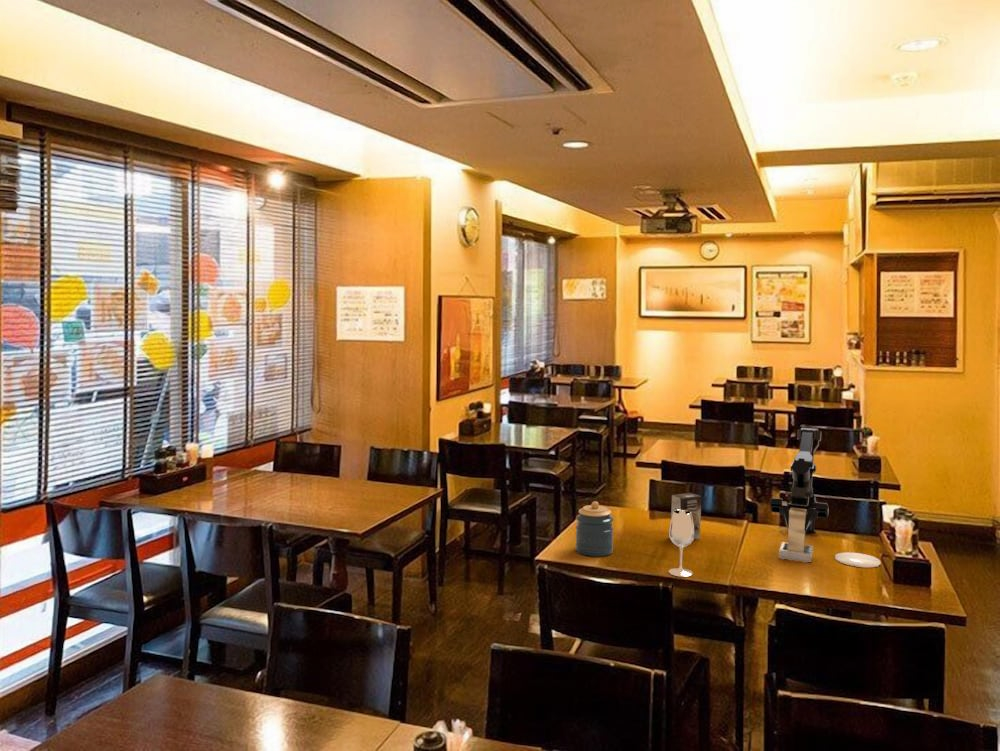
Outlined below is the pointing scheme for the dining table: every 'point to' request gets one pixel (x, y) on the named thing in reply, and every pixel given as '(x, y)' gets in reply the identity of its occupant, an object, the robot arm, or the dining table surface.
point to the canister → (594, 530)
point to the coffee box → (689, 508)
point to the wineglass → (681, 537)
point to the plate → (857, 560)
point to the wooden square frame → (795, 553)
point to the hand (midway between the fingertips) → (796, 529)
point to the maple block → (796, 529)
